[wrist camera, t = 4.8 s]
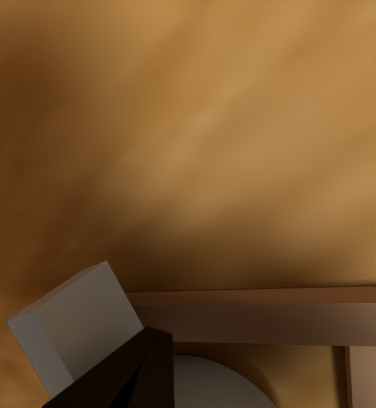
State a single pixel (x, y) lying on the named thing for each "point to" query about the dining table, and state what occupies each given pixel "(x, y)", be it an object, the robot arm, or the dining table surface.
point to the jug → (113, 343)
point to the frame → (275, 323)
